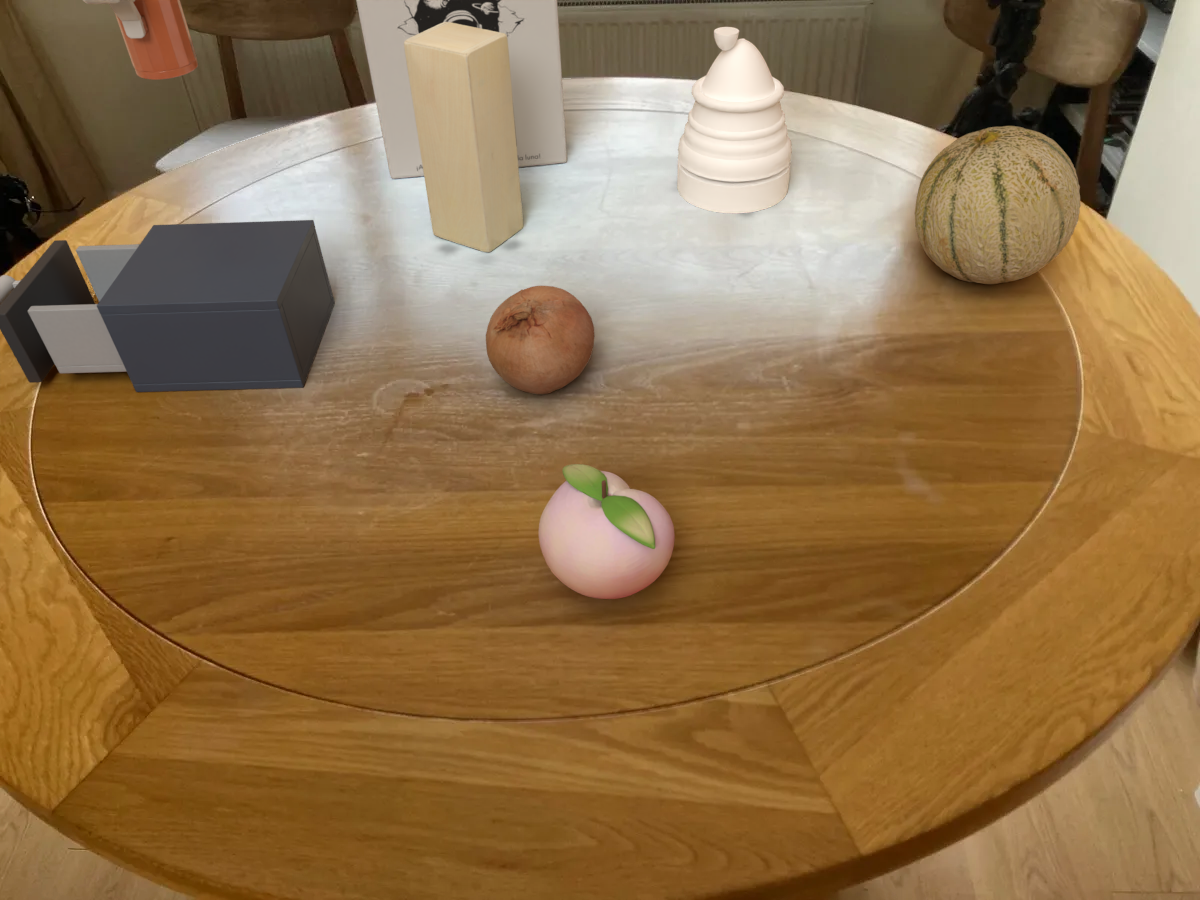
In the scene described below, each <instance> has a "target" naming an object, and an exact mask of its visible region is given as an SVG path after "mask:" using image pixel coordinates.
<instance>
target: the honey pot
mask: <svg viewBox="0 0 1200 900" xmlns="http://www.w3.org/2000/svg"><path fill="white" fill-rule="evenodd" d="M739 34H740V30H739V29H738V28H737V27H733V26H721V27H717V28H715V29H714V30H713V38H714V42H715V44H716V46H717V47H718V48H719V49H720V50H721V51H720V52H719V54H717V56H716V58H715V59H714V60H713V62H712V64H711V65H710V68H709V69H708V71H707V73H706V75H704V76H702V77H700V78H699V79H697V80H696V81H695V82H694V84H692V86H691V95H692V98H693V99H694V103H693V106H692V108H691V109H690V111H689V112H688V115H687V121H686V123H685V126H684V130H683V134H681V136H680V138H679V140H678V141H679V142H678V147H677V151H678V152H677V153H678V155H677V178H676V181H677V182H676V189H677V192H678V194H679V197H681V198H682V199H683V201H685V202H686V203H688V204H690V205H692V206H694V207H696V208H698V209H702V210H704V211H708V212H712V213H713V212H714V213H720V214H732V215H733V214H737V215H738V214H740V215H741V214H748V213H750V214H751V213H755V212H759V211H763V210H767V209H769V208H771V207H773V206H777V205H778V204H779V203H780V202H781V201H783V200H785V197H786V195H788V191H789V182H790V171H791V161H792V149H793V148H792V140H791V138H790V137H789V134H788V125H787V124H786V114H785V112H784V110H783V108H782V105H781V101H782V99H783V97H784V95H785V87H784V85H783V84H782V82H781V81H780V80H779V79H777V78H775V77H774V76H772V73H771V70H770V68H769V65H768V64H767V62H766V60H765V58H764V56H763V55H762V53H761V51H760V50H759V49H758V48H757V47H756V45H755V44H754V43H753V42H751V41H749V40H747V39H746V38H739Z"/></svg>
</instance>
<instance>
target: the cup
mask: <svg viewBox="0 0 1200 900" xmlns="http://www.w3.org/2000/svg"><path fill="white" fill-rule="evenodd" d="M133 3H134V5H135V6H136V8H137V10H138V12H139V14H140V15H144V16H145V19H146V23H147V26H148V29H149V31H148V33H147V34H146V35H145V36H144V37H143V38H132V39H131V38H129V37H128V36H127V35H126V32H125V29H124V26H123V23H122V21H121V20H120V19H119V17H118V16H117V15H116V13H115V12H114V11H113V13H114V15H115V18H116V21H117V24H118V27H119V30H120V32H121V33H120V34H121V35H122V38H123V41H124V44H125V47H126V50H127V53H128V56H129V58H130V61H131V65H132V67H133V69H134V71H135V74H136V76H137V77H138V78H142V79H144V80H155V81H156V80H157V81H158V80H167V79H168V80H169V79H174V78H177V77H181V76H184V75H187V74H189V73H191V72H194V71H195V70H196V69H197V68H198V66H199V62H198V61H199V60H198V58H197V53H196V49H195V46H194V43H193V39H192V37H191V33H190V30H189V25H188V23H187V20H186V16H185V13H184V10H183V6H182V3H181V0H135V1H134V2H133Z"/></svg>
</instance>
